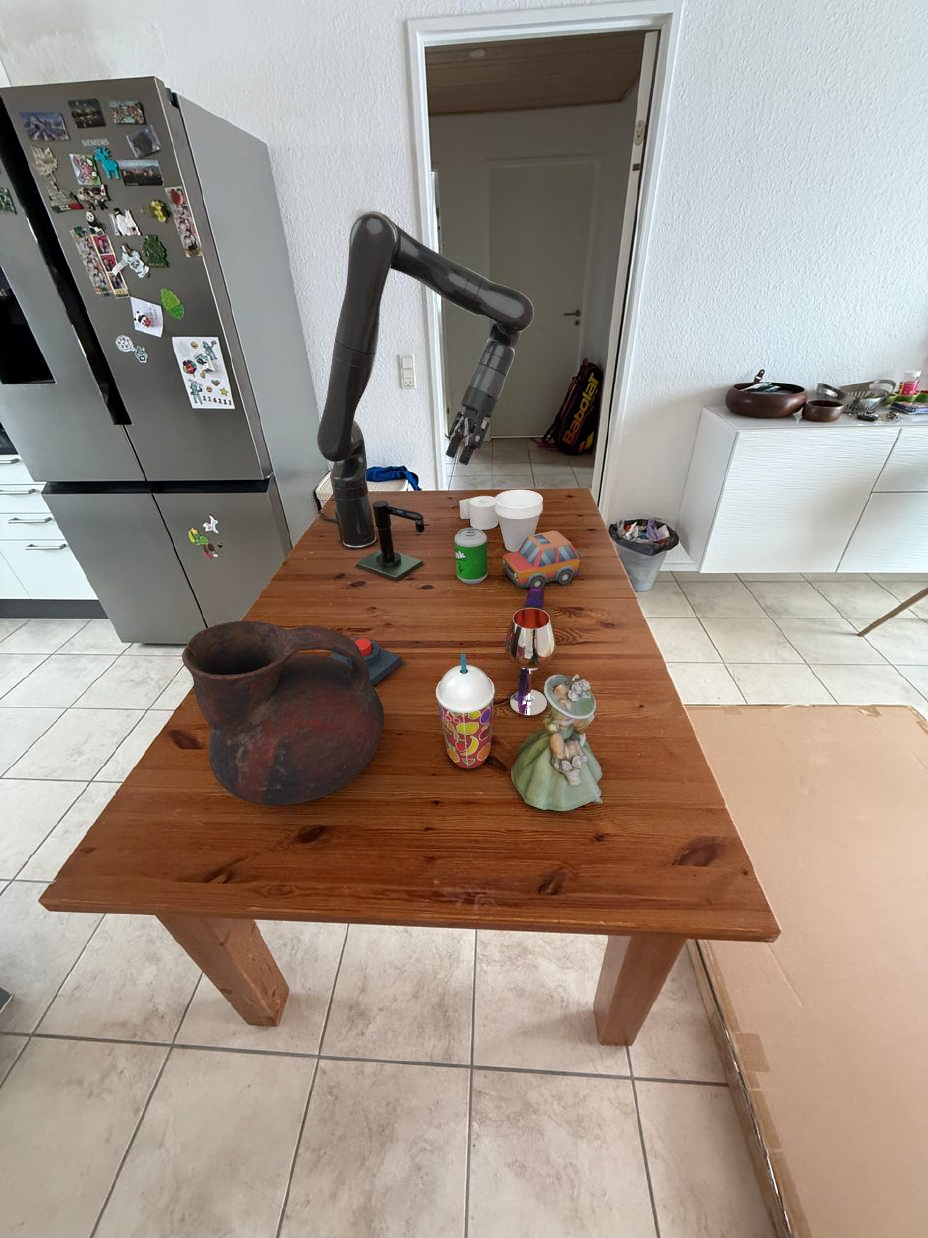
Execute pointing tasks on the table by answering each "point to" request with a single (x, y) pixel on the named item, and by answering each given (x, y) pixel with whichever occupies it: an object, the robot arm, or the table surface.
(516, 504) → the cup
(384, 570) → the tap base
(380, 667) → the button box
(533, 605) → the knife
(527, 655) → the wineglass
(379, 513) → the spout
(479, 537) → the soda can
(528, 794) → the figurine
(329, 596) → the table surface
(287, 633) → the jug
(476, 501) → the toilet paper
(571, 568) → the toy car
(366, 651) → the button
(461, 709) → the smoothie
